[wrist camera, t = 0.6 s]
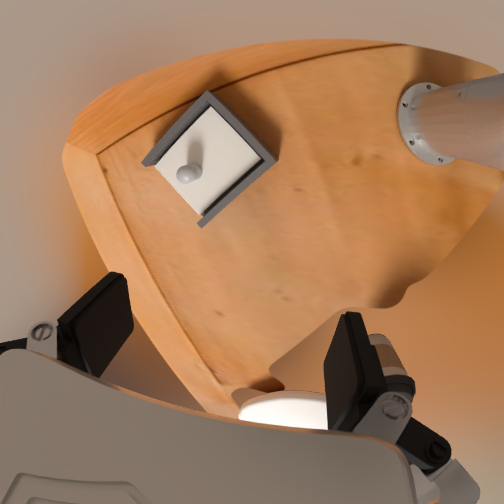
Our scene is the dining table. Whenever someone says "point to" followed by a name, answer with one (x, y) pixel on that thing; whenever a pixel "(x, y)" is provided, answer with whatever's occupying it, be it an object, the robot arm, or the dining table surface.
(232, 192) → the dark box
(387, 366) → the coffee cup
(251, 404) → the white round disc
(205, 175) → the cover plate
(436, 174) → the dining table surface
